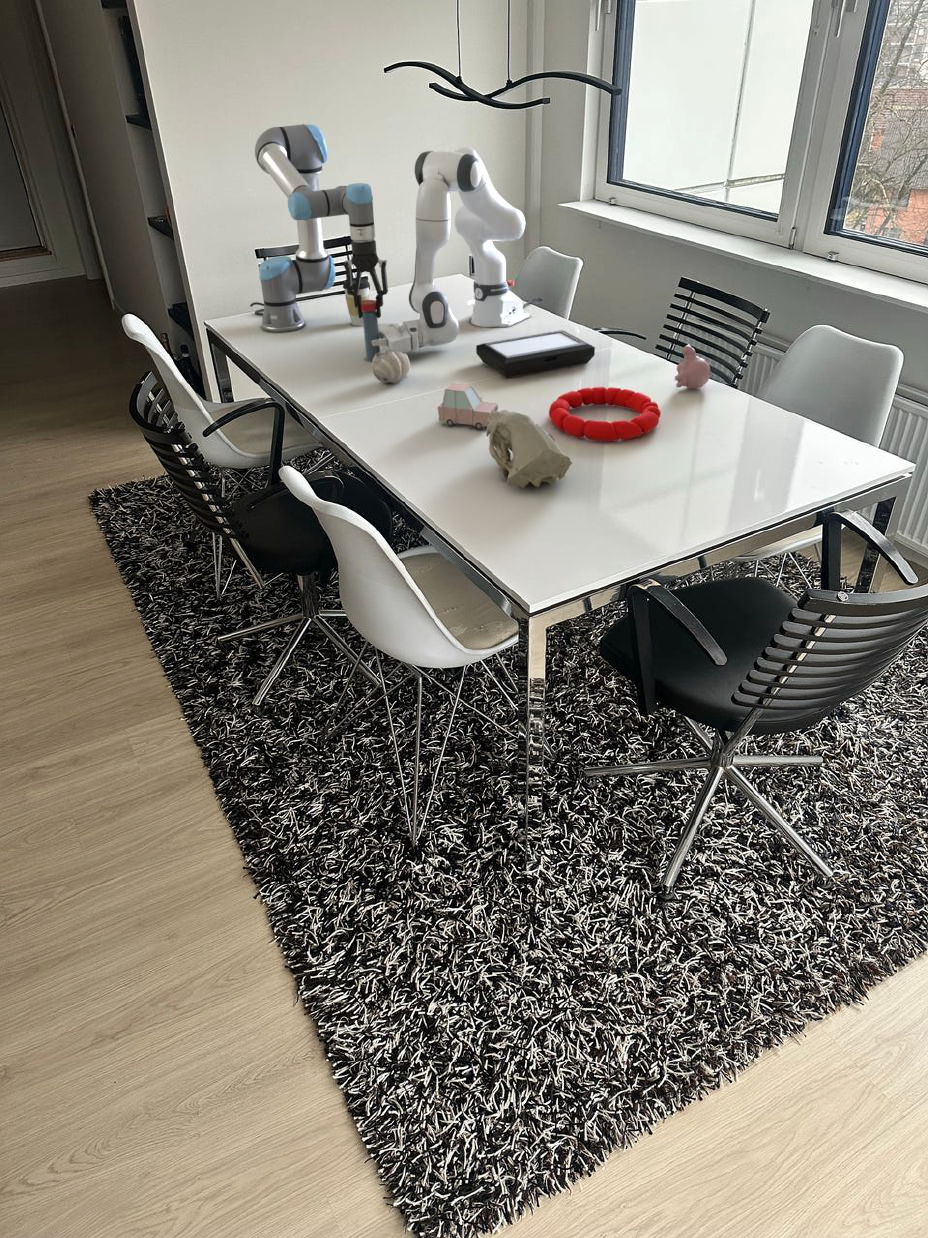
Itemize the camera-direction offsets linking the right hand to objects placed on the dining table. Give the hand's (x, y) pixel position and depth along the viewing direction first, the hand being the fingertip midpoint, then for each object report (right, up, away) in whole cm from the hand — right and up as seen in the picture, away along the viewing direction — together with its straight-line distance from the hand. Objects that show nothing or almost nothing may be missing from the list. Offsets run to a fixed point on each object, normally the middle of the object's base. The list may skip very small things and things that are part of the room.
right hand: (369, 339), depth 290 cm
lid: (0, +10, -6) cm, 12 cm away
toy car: (+32, -37, -44) cm, 66 cm away
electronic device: (+54, -9, -5) cm, 55 cm away
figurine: (+98, -23, -27) cm, 104 cm away
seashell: (+9, -18, -15) cm, 25 cm away
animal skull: (+45, -54, -70) cm, 99 cm away
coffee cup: (-7, +18, +37) cm, 42 cm away
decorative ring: (+69, -37, -46) cm, 91 cm away
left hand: (+1, +6, -4) cm, 7 cm away
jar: (+1, -5, +4) cm, 6 cm away
